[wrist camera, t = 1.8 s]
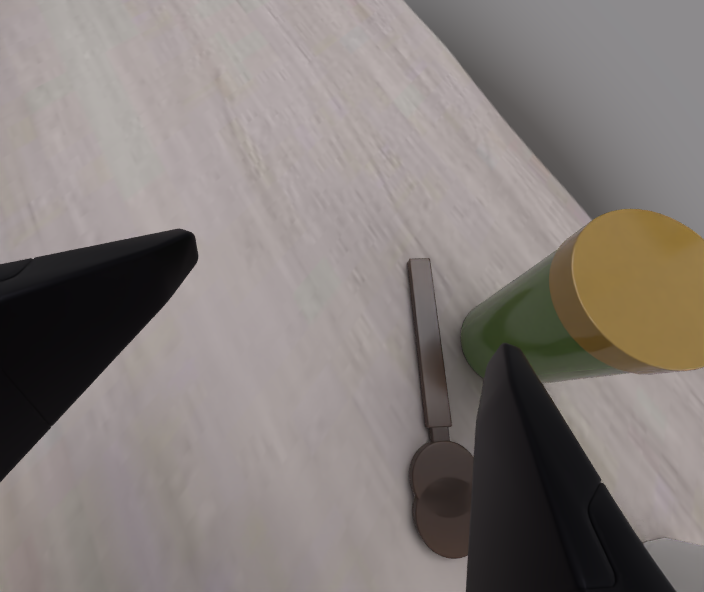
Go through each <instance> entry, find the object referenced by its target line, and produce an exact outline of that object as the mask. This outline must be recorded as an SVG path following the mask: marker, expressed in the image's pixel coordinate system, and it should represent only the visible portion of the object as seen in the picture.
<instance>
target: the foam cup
mask: <svg viewBox="0 0 704 592" xmlns="http://www.w3.org/2000/svg"><path fill="white" fill-rule="evenodd" d="M643 545H644V546H645V548H646V549H647V551H648V552H649V554H650V555H651V557H652V558H653V559H654V561H655V562H656V564H657V565H658V567H659V568H660V569H661V571H662V572H663V574H664V575H665V576H666V578H667V579H668V581H669V582H670V583H671V585H672V586H673V588H674V589H675V590H676V592H704V546H703V545H698V544H694V543H689V542H685V541H681V540H676V539H674V540H672V539H669V538H666V537H665V538H661V539H656V540H652V541H647V542H645V543H644V544H643Z"/></svg>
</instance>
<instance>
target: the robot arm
mask: <svg viewBox="0 0 704 592" xmlns="http://www.w3.org/2000/svg"><path fill="white" fill-rule="evenodd" d="M197 261H198V251H197V245H196V239H195V236H194V234H193V233H192V232H189V231H186V230H183V229H174V230H169V231H164V232H159V233H154V234H149V235H144V236H139V237H134V238H129V239H124V240H119V241H115V242H110V243H105V244H100V245H95V246H90V247H85V248H80V249H75V250H70V251H65V252H60V253H55V254H50V255H45V256H40V257H35V258H34V259H32V258H30V259H25V260H20V261H15V262H10V263H5V264H0V482H1V481H2V480H3V479H4V478H5V476H6V475H7V474H8V473H9V472H10V471H11V470H12V469H13V468H14V467H15V466H16V465H17V464H18V463H19V461H20V460H21V459H22V458H23V457H24V456H25V455H26V454H27V453H28V452H29V451H30V450H31V449H32V447H33V446H34V445H35V444H36V443H37V442H38V441H39V440H40V439H41V438H42V437H43V436H44V435H45V433H46V432H47V431H48V430H49V429H50V428H51V426H52V425H54V423H55V422H56V421H57V420H58V419H59V418H60V417H61V416H62V415H63V414H64V413H65V412H66V411H67V410H68V408H69V407H70V406H71V405H72V404H73V403H74V402H75V401H76V400H77V399H78V398H79V397H80V396H81V394H82V393H83V392H84V391H85V390H86V389H87V388H88V387H89V386H90V385H91V384H92V383H93V382H94V380H95V379H96V378H97V377H98V376H99V375H100V374H101V373H102V372H103V371H104V370H105V369H106V368H107V367H108V365H109V364H110V363H111V362H112V361H113V360H114V359H115V358H116V357H117V356H118V355H119V354H120V353H121V351H122V350H123V349H124V348H125V347H126V346H127V345H128V344H129V343H130V342H131V341H132V340H133V339H134V338H135V336H136V335H137V334H138V333H139V332H140V331H141V330H142V329H143V328H144V327H145V326H146V325H147V324H148V322H149V321H150V320H151V319H152V318H153V317H154V316H155V315H156V314H157V313H158V312H159V311H160V310H161V308H162V307H163V306H164V305H165V304H166V303H167V302H168V301H169V299H170V298H171V297H172V295H173V294H174V293H175V291H176V290H177V289H178V287H179V286H180V285H181V283H182V282H183V281H184V279H185V278H186V277H187V275H188V274H189V273H190V271H191V270H192V269H193V267H194V266H195V265H196V263H197ZM600 482H601V478H600V477H599V475H598V473H597V472H596V470H595V469H594V467H593V465H592V464H591V462H590V461H589V459H588V457H587V456H586V454H585V452H584V451H583V449H582V448H581V446H580V444H579V443H578V441H577V439H576V438H575V436H574V435H573V433H572V431H571V430H570V428H569V426H568V425H567V423H566V422H565V420H564V418H563V417H562V415H561V413H560V412H559V410H558V409H557V407H556V405H555V404H554V402H553V400H552V399H551V397H550V396H549V394H548V392H547V391H546V389H545V388H544V386H543V384H542V383H541V381H540V379H539V378H538V376H537V375H536V373H535V371H534V370H533V368H532V366H531V365H530V363H529V362H528V360H527V358H526V357H525V355H524V353H523V352H522V350H521V349H520V348H519V347H516V346H514V345H511V344H508V343H503V344H501V345H500V346H499V348H498V349H497V351H496V352H495V354H494V355H493V356H492V358H491V359H490V361H489V363H488V365H487V367H486V371H485V377H484V382H483V387H482V393H481V398H480V403H479V408H478V414H477V420H476V430H475V446H474V463H473V480H472V497H471V513H470V530H469V547H468V564H467V581H466V592H676V590H675V589H674V588H673V586H672V585H671V583H670V582H669V581H668V579H667V578H666V576H665V575H664V574H663V572H662V571H661V569H660V568H659V567H658V565H657V564H656V562H655V561H654V559H653V558H652V557H651V555H650V554H649V552H648V551H647V549H646V548H645V546H644V545H643V543H642V542H641V541H640V539H639V538H638V536H637V535H636V533H635V532H634V530H633V529H632V527H631V526H630V524H629V523H628V521H627V520H626V518H625V516H624V515H623V513H622V512H621V510H620V509H619V507H618V506H617V504H616V502H615V501H614V499H613V498H612V496H611V494H610V493H609V491H608V489H607V488H606V486H605V485H604V483H600Z"/></svg>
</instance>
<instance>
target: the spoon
mask: <svg viewBox="0 0 704 592" xmlns="http://www.w3.org/2000/svg"><path fill="white" fill-rule="evenodd" d="M407 264H408V273H409V282H410V291H411V301H412V310H413V319H414V328H415V337H416V346H417V355H418V364H419V373H420V383H421V392H422V401H423V410H424V419H425V427H427V428H429V432H430V440H431V441H430V442H428V443H426V444H424V445H423V446H422V447H421V448H420V449H419V450H418V451H417V452H416V454H415V455H414V457H413V459H412V462H411V465H410V472H409V479H410V485H411V488H412V491H413V494H414V495H415V498H414V502H413V520H414V524H415V527H416V529H417V531H418V533H419V535H420V536H421V538H422V539H423V541H424V542H425V544H426V545H427V546H428V547H429V548H430V549H431V550H432V551H434V552H435V553H437V554H438V555H440V556H443V557H446V558H452V559H455V558H462V557H465V556H467V555H468V547H469V530H470V513H471V497H472V480H473V463H474V457H473V456H472V455H471V453H470V452H469V451H468V450H467V449H465V448H464V447H463V446H461V445H459V444H457V443H455V442H452V441H450V439H449V431H448V427H451V426H452V422H451V415H450V407H449V400H448V392H447V385H446V377H445V369H444V362H443V354H442V347H441V339H440V332H439V324H438V316H437V309H436V301H435V294H434V286H433V279H432V271H431V263H430V258H422V259H409V261H408V263H407Z"/></svg>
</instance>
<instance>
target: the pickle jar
mask: <svg viewBox="0 0 704 592" xmlns="http://www.w3.org/2000/svg"><path fill="white" fill-rule="evenodd" d="M503 343H508V344H511V345H514V346H516V347H519V348H520V349H521V350H522V352H523V353H524V355H525V357H526V358H527V360H528V362H529V363H530V365H531V366H532V368H533V370H534V371H535V373H536V375H537V376H538V378H539V379H540V381H541V383H551V382H559V381H568V380H576V379H584V378H593V377H601V376H610V375H618V374H626V373H635V374H648V375H651V374H661V373H670V372H679V371H688V370H696V369H699V368H703V367H704V239H703V238H702V237H701V236H699V235H698V234H697V233H695V232H694V231H693V230H691V229H690V228H689V227H687V226H685V225H684V224H682V223H680V222H678V221H676V220H674V219H672V218H670V217H668V216H665V215H662V214H660V213H656V212H652V211H648V210H641V209H621V210H616V211H611V212H608V213H605V214H603V215H601V216H599V217H597V218H595V219H593V220H592V221H591V222H589V223H588V224H587V225H585V226H584V227H582V228H581V229H580V230H578V231H577V232H575V233H574V234H573V235H571V236H570V237H569V238H567V239H566V240H565V241H564V242H563V243H562V244H561V246H560V247H559V248H558V249H557V250H556V251H554V252H553V253H552V254H550V255H549V256H547V257H546V258H544V259H543V260H542V261H540V262H539V263H537V264H536V265H535V266H533V267H532V268H530V269H529V270H527V271H526V272H525V273H523V274H522V275H520V276H519V277H517V278H516V279H515V280H513V281H512V282H510V283H509V284H507V285H506V286H505V287H503V288H502V289H500V290H499V291H498V292H496V293H495V294H493V295H492V296H490V297H489V298H488V299H486V300H485V301H483V302H482V303H480V304H479V305H478V306H476V307H475V308H474V309H472V310H471V311H470V313H469V314H468V315H467V317H466V318H465V320H464V322H463V325H462V329H461V345H462V350H463V353H464V355H465V358H466V360H467V361H468V363H469V364H470V366H471V367H472V368H473V370H474V371H475V372H476V373H477V374H478V375H479V376H481V377H482V378H483V379H484V377H485V371H486V367H487V365H488V363H489V361H490V359H491V358H492V356H493V355H494V354H495V352H496V351H497V349H498V348H499V346H500V345H501V344H503Z"/></svg>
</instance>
